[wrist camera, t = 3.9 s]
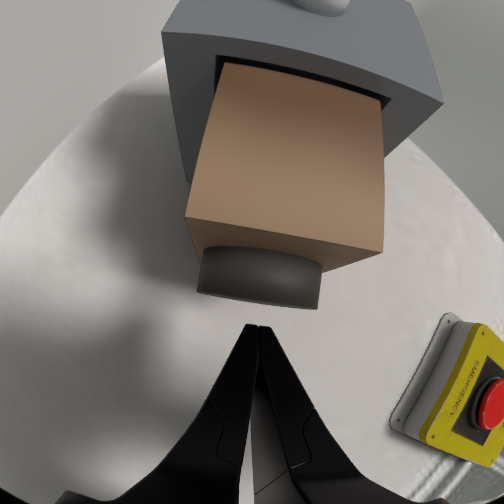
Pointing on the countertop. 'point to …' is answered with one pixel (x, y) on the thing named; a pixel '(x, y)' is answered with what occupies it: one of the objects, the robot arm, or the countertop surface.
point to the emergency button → (457, 393)
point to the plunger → (285, 186)
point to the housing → (300, 57)
